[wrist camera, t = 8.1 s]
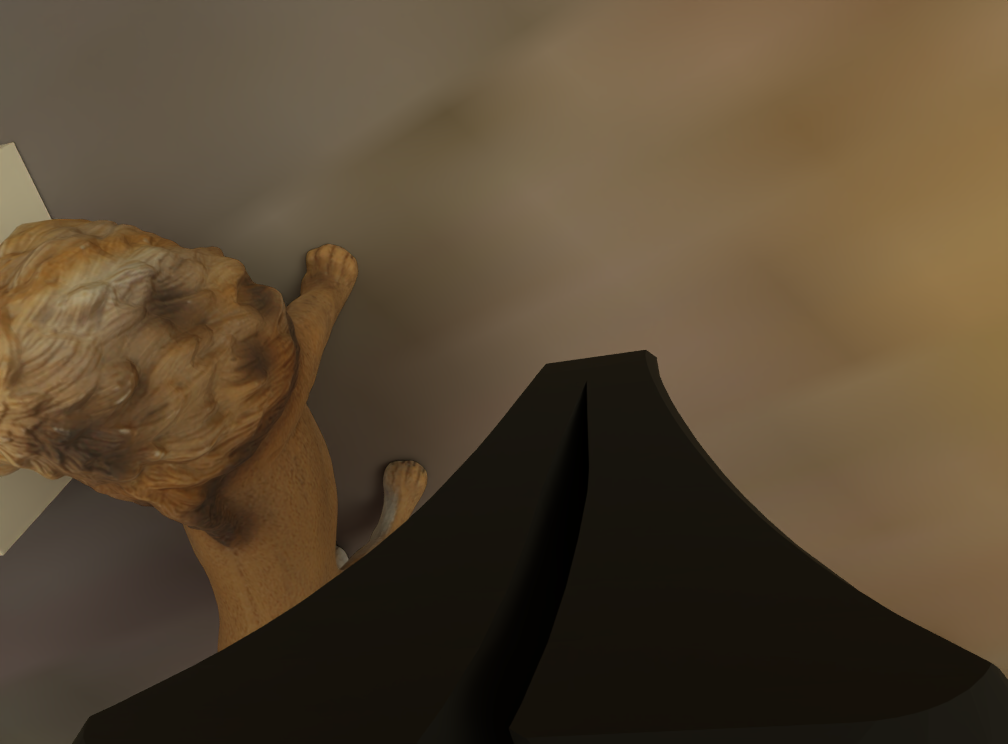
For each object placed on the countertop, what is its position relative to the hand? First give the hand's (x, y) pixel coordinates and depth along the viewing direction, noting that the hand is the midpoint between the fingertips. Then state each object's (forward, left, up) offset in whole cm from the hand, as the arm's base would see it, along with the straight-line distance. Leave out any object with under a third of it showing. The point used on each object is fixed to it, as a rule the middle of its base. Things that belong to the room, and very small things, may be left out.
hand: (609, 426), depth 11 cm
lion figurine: (+9, +4, -10) cm, 14 cm away
